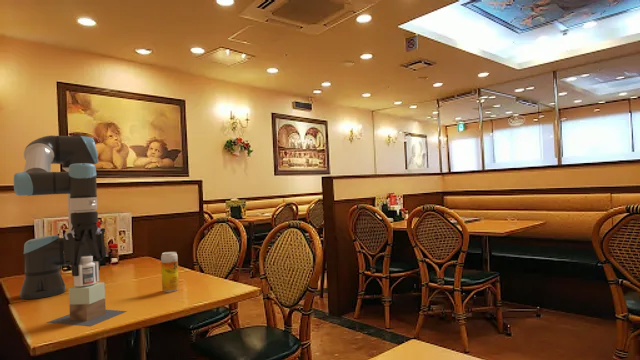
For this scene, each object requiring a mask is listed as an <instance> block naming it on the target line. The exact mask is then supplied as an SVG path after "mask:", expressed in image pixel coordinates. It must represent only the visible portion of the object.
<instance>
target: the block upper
mask: <svg viewBox="0 0 640 360" xmlns="http://www.w3.org/2000/svg"><path fill="white" fill-rule="evenodd" d="M105 284H106V283H105V282H96V283H95V284H93V285H89V286H74V285H73V286H71V287H69V288H68V303H69V304H91V303H94V302H96V301H99V300H101V299H103V298H105V299H106V290H105V288H106V287H105Z"/></svg>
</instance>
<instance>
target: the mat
mask: <svg viewBox="0 0 640 360" xmlns="http://www.w3.org/2000/svg"><path fill="white" fill-rule="evenodd" d="M127 312H128V310H118V309H117V310H114V309H106V314H104V315H101V316H99V317H96V318H93V319H91V320H88V321H80V320H70V313H69V314H66V315H63V316H60V317H58V318H55V319H52V320H50V321H46V323H48V324H60V325H71V326H81V327H93V326H95V325H98V324H101V323H103V322H105V321H107V320H110V319H113V318H114V317H117V316H119V315H122V314H125V313H127Z"/></svg>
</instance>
